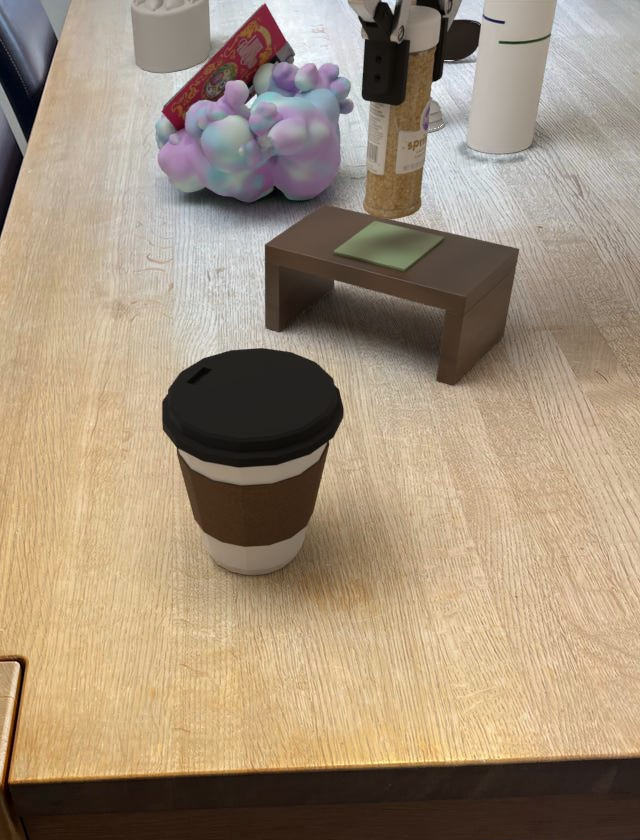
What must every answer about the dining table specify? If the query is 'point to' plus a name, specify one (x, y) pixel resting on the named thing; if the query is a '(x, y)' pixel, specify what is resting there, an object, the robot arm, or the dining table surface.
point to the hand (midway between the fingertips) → (402, 86)
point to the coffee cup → (252, 451)
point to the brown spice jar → (403, 127)
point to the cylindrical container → (509, 74)
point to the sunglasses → (462, 39)
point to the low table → (395, 276)
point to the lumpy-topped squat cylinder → (170, 34)
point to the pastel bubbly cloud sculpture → (255, 120)
